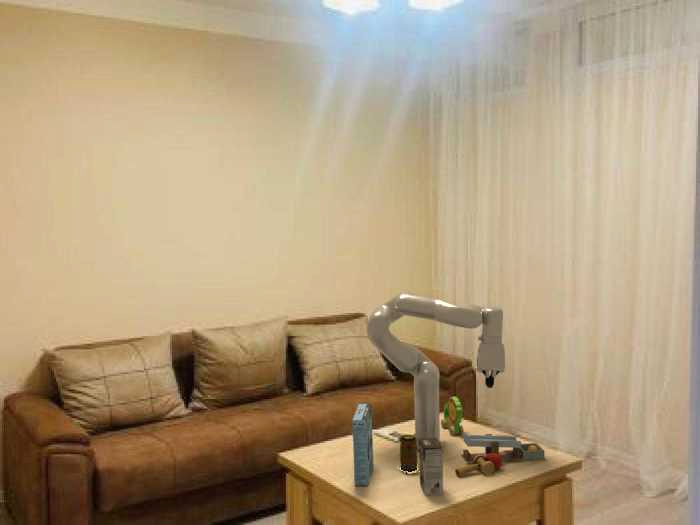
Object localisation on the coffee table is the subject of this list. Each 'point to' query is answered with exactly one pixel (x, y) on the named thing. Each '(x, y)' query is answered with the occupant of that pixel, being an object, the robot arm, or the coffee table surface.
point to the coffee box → (431, 466)
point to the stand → (505, 456)
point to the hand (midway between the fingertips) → (489, 387)
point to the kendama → (482, 464)
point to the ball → (532, 448)
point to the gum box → (362, 444)
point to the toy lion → (453, 416)
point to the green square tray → (531, 452)
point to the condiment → (408, 453)
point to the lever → (487, 440)
